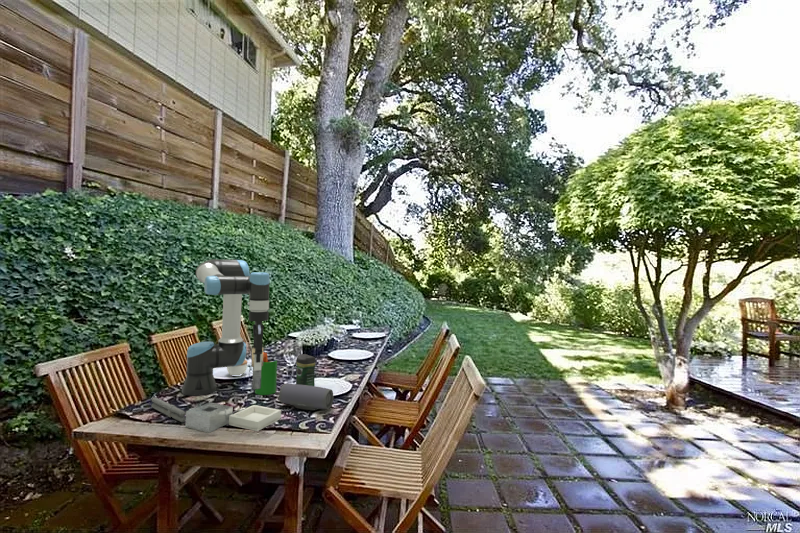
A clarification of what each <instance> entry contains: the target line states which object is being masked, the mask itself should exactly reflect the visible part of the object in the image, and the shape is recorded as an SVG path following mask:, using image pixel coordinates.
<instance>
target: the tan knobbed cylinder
mask: <svg viewBox="0 0 800 533" xmlns="http://www.w3.org/2000/svg"><path fill="white" fill-rule="evenodd" d="M263 352H264V347H262V363H261V366H263ZM253 353H255V348H253V347H251V365H250V366H251V367H252V389H253V390H255V389H260V388H261V370H257V371H254V354H253Z"/></svg>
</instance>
